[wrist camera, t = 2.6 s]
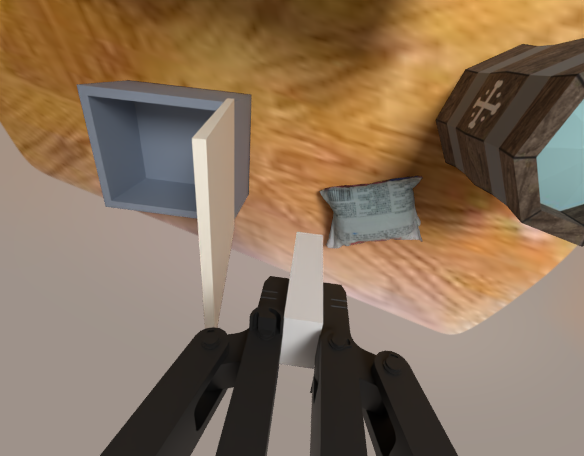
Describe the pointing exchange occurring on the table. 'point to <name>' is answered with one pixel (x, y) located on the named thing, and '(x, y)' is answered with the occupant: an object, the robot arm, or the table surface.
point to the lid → (215, 204)
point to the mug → (523, 133)
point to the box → (157, 143)
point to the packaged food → (373, 212)
